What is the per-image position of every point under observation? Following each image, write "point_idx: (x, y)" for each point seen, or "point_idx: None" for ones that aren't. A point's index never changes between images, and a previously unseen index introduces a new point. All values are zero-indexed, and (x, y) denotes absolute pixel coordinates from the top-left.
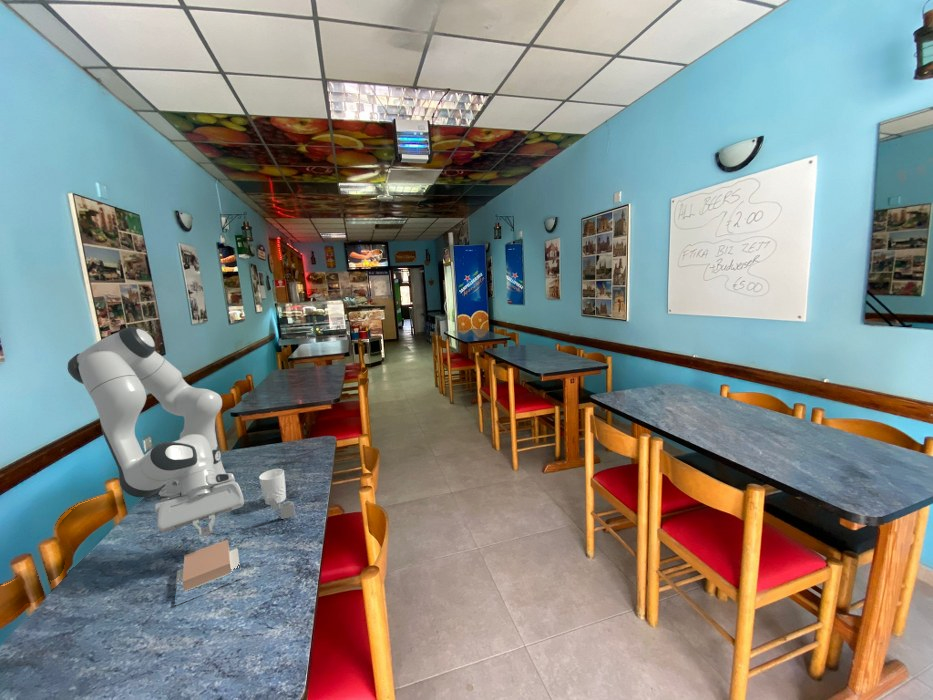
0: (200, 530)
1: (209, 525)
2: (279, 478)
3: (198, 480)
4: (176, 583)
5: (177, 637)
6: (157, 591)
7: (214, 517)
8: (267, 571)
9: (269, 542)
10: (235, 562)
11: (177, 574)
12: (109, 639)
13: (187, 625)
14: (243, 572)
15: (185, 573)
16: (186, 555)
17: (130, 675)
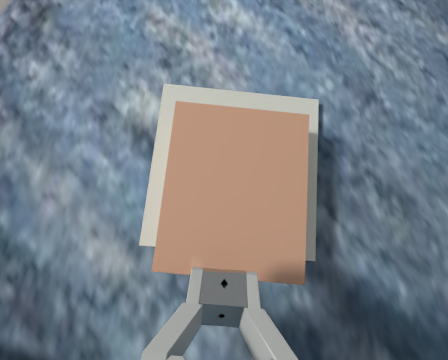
0: (250, 295)
1: (196, 303)
2: None
3: None
4: (315, 190)
5: (306, 5)
6: (357, 204)
7: (145, 351)
8: (104, 69)
9: (49, 207)
10: (162, 163)
11: (314, 236)
12: (432, 98)
13: (289, 23)
14: (155, 112)
15: (301, 153)
16: (298, 275)
17: None
